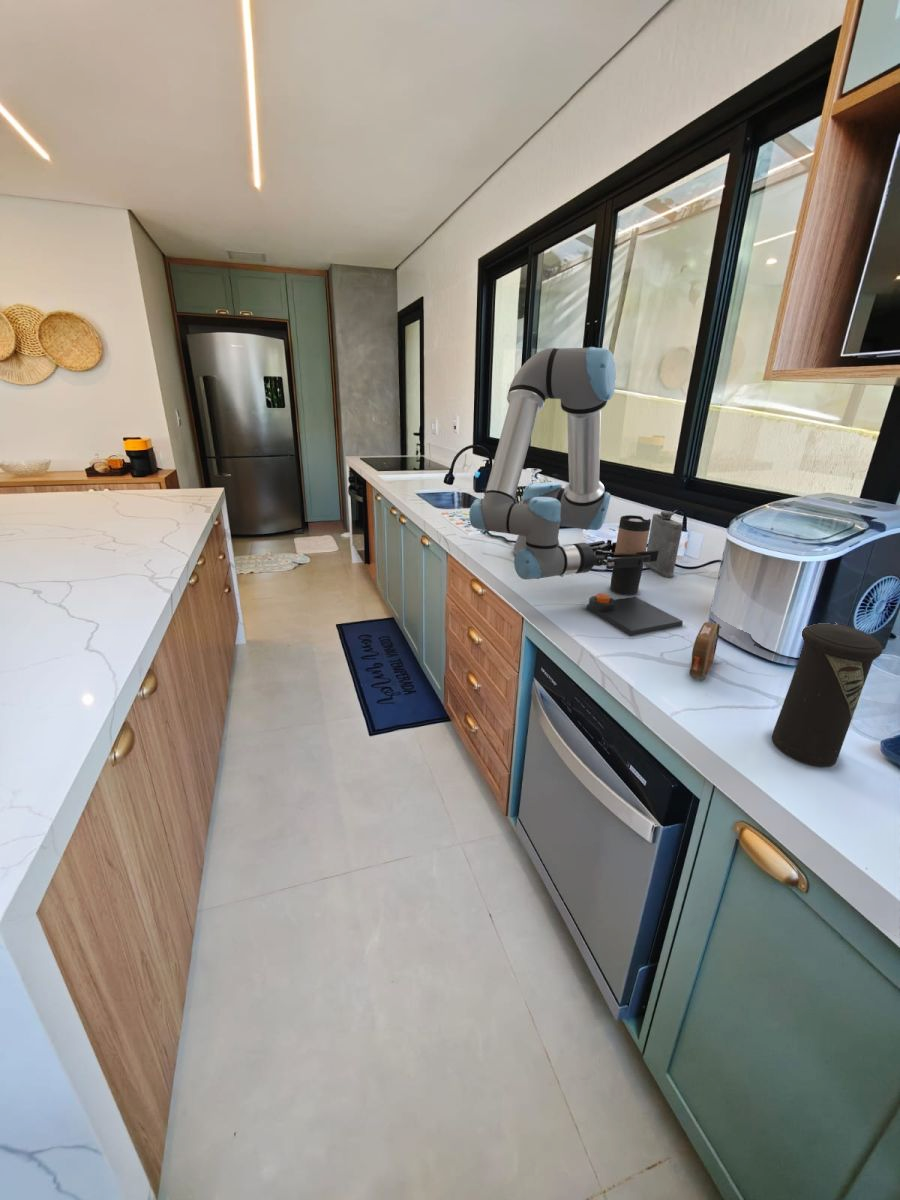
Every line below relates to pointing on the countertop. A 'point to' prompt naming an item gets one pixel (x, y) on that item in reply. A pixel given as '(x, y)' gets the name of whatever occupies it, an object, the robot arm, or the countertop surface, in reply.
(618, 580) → the travel mug
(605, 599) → the tare button
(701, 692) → the countertop surface
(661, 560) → the flask
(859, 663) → the container
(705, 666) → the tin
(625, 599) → the scale
